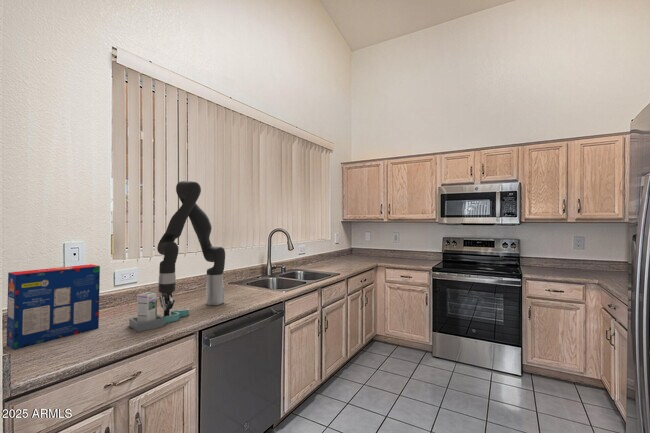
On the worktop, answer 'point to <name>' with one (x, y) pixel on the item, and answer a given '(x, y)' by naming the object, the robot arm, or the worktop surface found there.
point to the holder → (146, 324)
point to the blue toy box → (51, 304)
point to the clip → (171, 318)
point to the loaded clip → (181, 312)
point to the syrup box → (146, 307)
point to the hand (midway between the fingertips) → (166, 317)
